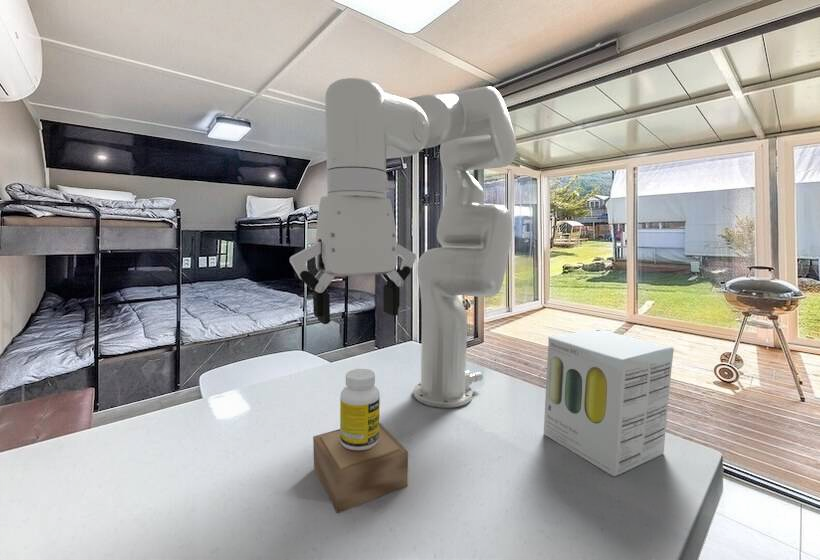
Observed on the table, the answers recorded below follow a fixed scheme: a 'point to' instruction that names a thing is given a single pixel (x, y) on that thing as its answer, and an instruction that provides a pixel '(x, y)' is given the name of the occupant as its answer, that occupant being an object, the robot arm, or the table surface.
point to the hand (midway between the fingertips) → (358, 317)
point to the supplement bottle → (359, 411)
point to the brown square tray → (359, 469)
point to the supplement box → (608, 397)
